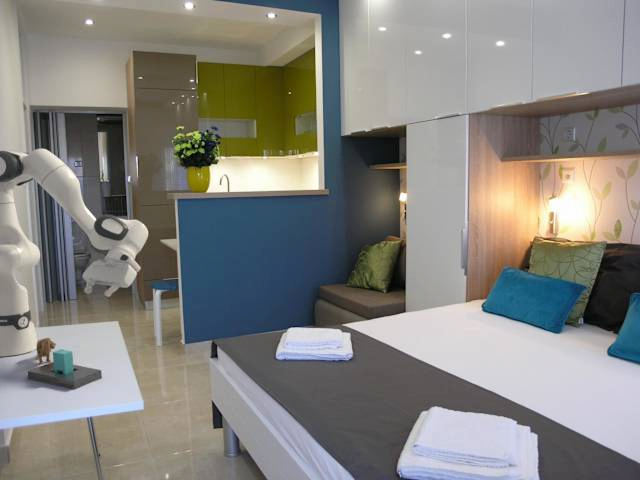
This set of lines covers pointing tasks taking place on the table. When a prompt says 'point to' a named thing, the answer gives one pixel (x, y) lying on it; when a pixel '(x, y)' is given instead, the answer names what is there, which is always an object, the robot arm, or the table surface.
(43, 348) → the lion figurine
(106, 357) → the table surface
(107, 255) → the robot arm
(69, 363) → the teal rectangular prism
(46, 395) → the table surface
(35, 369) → the gray rectangular base
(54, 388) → the table surface
